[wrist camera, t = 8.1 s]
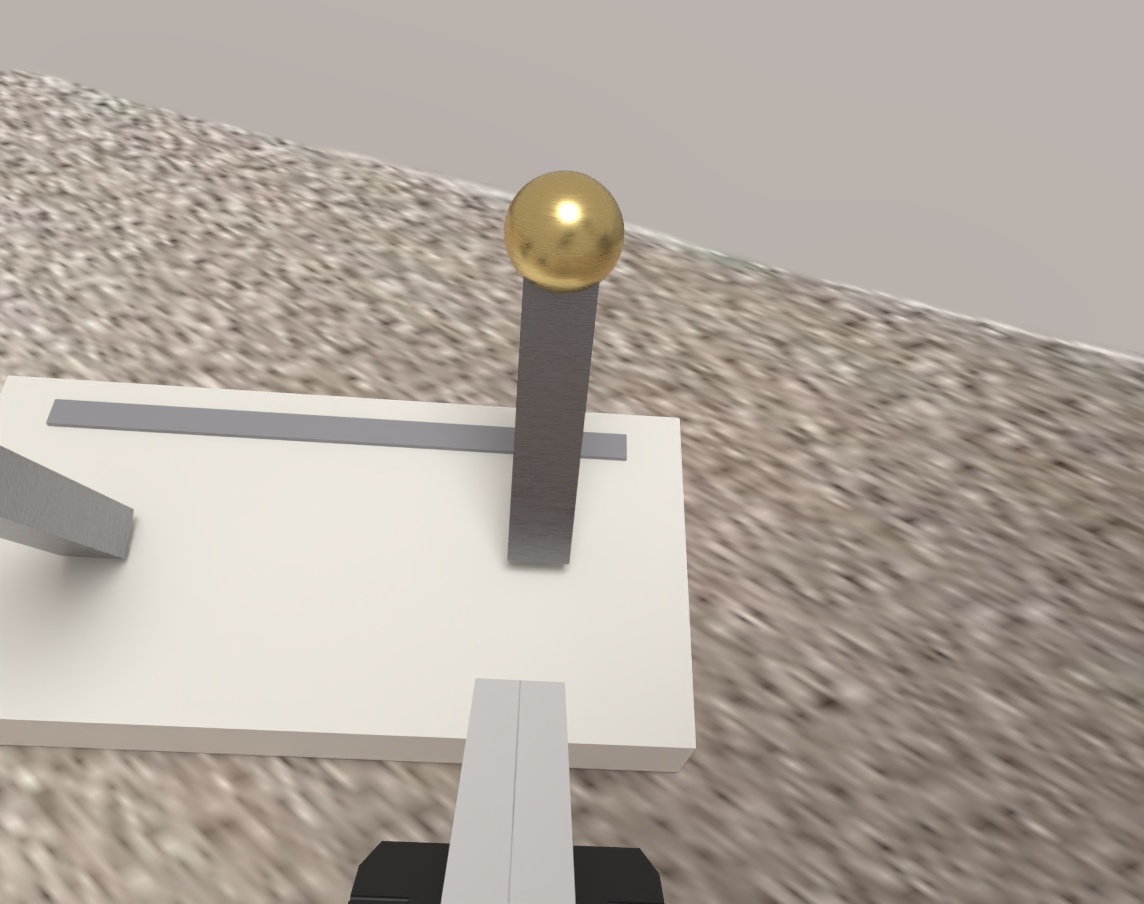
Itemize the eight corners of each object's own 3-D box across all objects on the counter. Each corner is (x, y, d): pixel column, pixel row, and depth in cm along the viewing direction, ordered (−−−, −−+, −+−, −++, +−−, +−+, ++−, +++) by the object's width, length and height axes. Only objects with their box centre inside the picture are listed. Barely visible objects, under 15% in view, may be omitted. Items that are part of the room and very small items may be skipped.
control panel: (678, 772, 30) (697, 746, 28) (-83, 741, 29) (-141, 710, 26) (665, 460, 37) (680, 414, 34) (41, 422, 35) (5, 372, 33)
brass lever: (588, 581, 29) (635, 198, 23) (487, 576, 29) (503, 188, 22) (585, 519, 32) (627, 160, 25) (492, 514, 32) (508, 150, 25)
